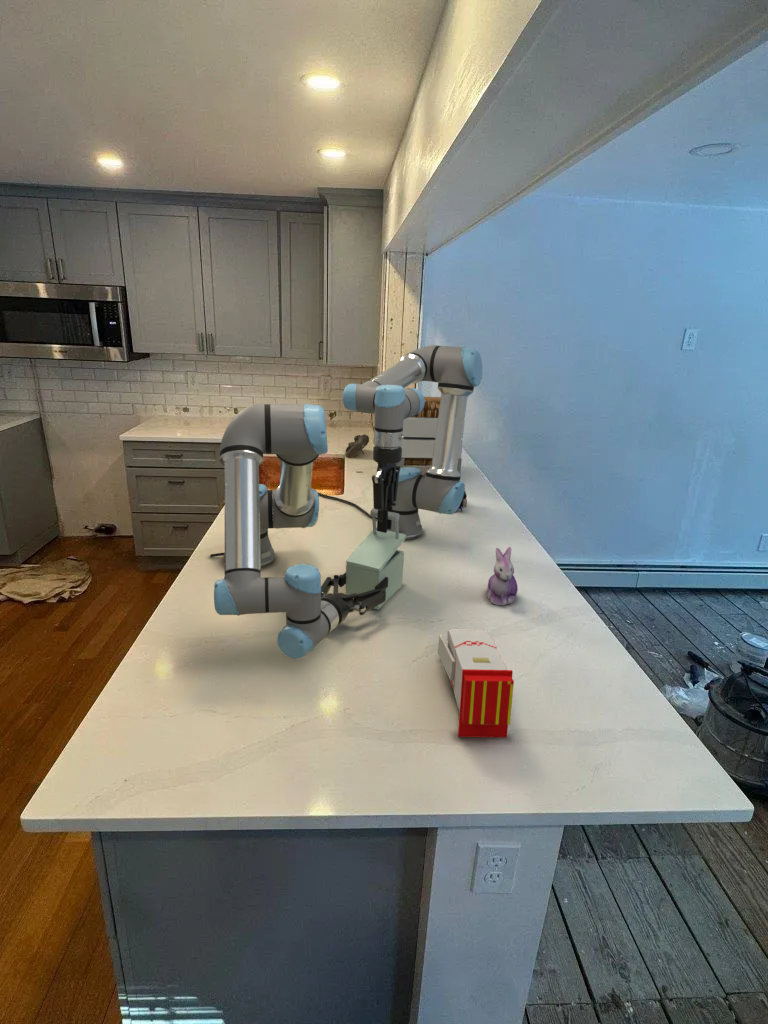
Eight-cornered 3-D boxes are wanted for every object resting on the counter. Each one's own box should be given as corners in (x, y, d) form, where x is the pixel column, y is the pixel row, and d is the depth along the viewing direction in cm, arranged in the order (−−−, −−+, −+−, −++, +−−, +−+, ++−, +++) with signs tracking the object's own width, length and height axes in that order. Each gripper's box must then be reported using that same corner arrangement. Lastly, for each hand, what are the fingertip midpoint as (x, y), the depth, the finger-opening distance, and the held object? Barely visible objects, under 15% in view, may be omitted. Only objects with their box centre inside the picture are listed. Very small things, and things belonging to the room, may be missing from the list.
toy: (488, 613, 130) (523, 677, 101) (484, 667, 133) (517, 744, 104) (435, 612, 130) (455, 676, 101) (432, 666, 133) (451, 743, 103)
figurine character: (467, 516, 223) (461, 500, 237) (469, 499, 220) (463, 483, 233) (450, 516, 223) (446, 499, 236) (452, 498, 220) (447, 483, 233)
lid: (374, 531, 162) (372, 503, 158) (406, 537, 158) (404, 509, 154) (346, 564, 149) (343, 535, 145) (379, 572, 146) (377, 543, 141)
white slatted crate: (382, 463, 289) (386, 382, 275) (445, 464, 293) (451, 384, 279) (390, 482, 257) (394, 392, 243) (460, 483, 261) (468, 394, 247)
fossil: (345, 440, 315) (366, 425, 310) (356, 453, 318) (377, 439, 313) (338, 454, 296) (361, 438, 291) (350, 468, 298) (372, 452, 293)
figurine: (499, 610, 151) (506, 558, 146) (476, 593, 160) (482, 544, 155) (527, 603, 156) (534, 553, 151) (503, 587, 164) (509, 539, 159)
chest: (371, 577, 167) (373, 544, 163) (402, 585, 163) (404, 551, 159) (345, 600, 153) (346, 564, 149) (377, 609, 149) (379, 573, 145)
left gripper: (287, 616, 139) (333, 580, 158) (368, 640, 130) (406, 599, 149) (286, 588, 136) (333, 555, 155) (369, 612, 128) (408, 574, 147)
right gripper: (388, 454, 140) (384, 542, 148) (412, 442, 153) (407, 523, 161) (361, 450, 143) (359, 536, 151) (387, 438, 155) (383, 518, 164)
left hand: (369, 577), depth 152 cm, fingers closed on chest, 10 cm apart
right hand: (384, 529), depth 156 cm, fingers closed on lid, 2 cm apart
